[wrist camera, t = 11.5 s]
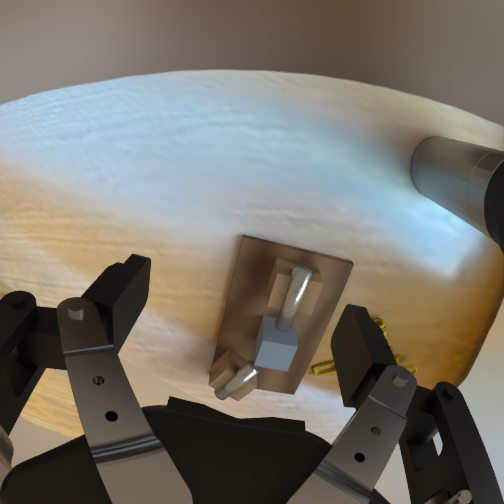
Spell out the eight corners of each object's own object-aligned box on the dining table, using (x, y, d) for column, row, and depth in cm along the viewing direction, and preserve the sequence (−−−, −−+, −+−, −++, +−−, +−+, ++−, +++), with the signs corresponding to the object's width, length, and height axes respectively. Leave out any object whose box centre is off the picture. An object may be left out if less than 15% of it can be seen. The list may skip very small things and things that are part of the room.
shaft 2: (310, 267, 40) (313, 276, 38) (290, 322, 44) (291, 333, 42) (293, 263, 40) (294, 272, 38) (274, 319, 44) (274, 329, 42)
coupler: (295, 321, 48) (298, 347, 42) (285, 345, 50) (287, 371, 44) (263, 315, 47) (262, 340, 42) (255, 339, 49) (254, 365, 44)
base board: (352, 261, 44) (363, 281, 39) (293, 390, 56) (295, 414, 50) (243, 234, 43) (240, 252, 38) (209, 375, 55) (205, 399, 49)
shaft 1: (260, 364, 47) (260, 375, 45) (226, 391, 50) (225, 402, 48) (248, 357, 47) (247, 368, 45) (215, 385, 50) (213, 396, 48)
